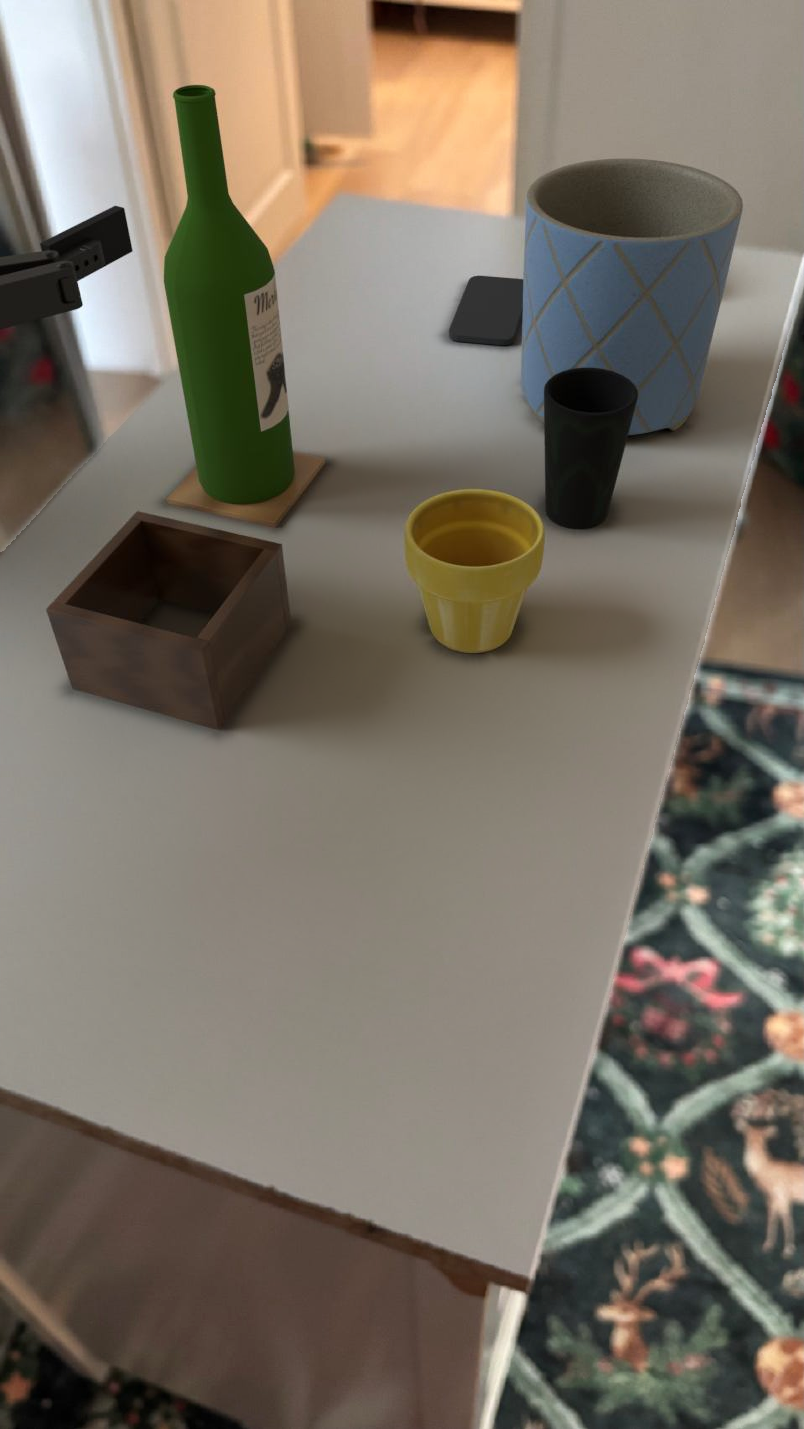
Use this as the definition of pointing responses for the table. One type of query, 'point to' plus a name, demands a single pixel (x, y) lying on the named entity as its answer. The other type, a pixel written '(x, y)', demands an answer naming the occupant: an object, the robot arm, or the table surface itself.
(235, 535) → the holder
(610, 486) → the cup
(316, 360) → the table surface
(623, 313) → the planter
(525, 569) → the flower pot
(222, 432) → the wine bottle
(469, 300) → the phone
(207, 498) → the cork mat
